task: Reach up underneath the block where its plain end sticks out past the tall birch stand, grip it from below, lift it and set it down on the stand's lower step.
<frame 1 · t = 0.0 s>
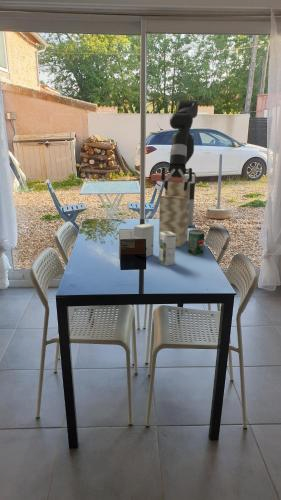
hand: (175, 190, 174), 31 cm above the table, tool tilted 20°, fingers open, 8 cm apart
syrup box: (166, 263, 172), on the table
skincare box: (143, 255, 183), on the table
canned tomato: (195, 253, 186), on the table
block: (167, 181, 198), point 32 cm above the table, touching stand
stand: (173, 242, 202), on the table
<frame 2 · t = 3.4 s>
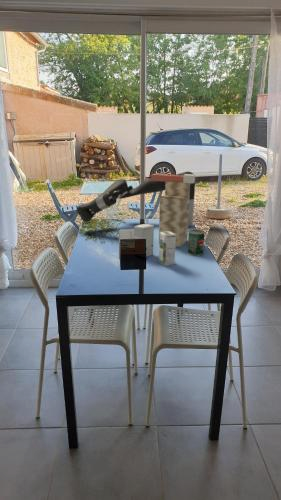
hand: (129, 188, 204), 27 cm above the table, tool pointing upward, fingers open, 8 cm apart
nothing on the table moved.
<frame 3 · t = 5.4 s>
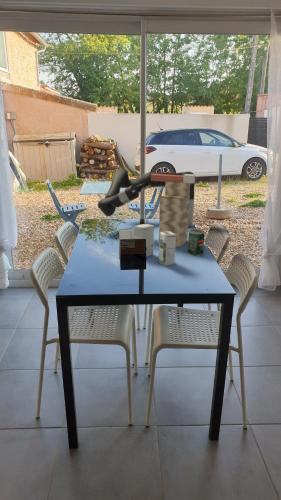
hand: (152, 181, 200), 32 cm above the table, tool pointing upward, fingers open, 8 cm apart
nothing on the table moved.
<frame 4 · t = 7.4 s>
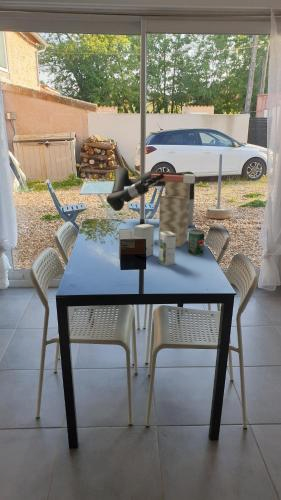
hand: (164, 175, 197), 35 cm above the table, tool pointing upward, fingers closed on block, 3 cm apart
block: (167, 181, 198), point 32 cm above the table, touching gripper, stand
everything else where it was.
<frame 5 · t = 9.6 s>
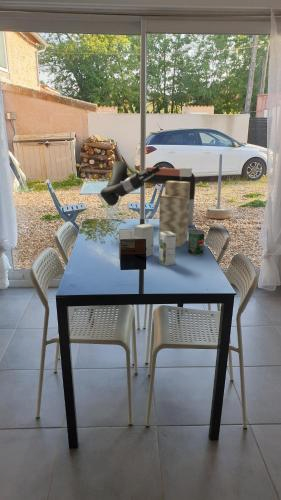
hand: (160, 168, 190), 39 cm above the table, tool pointing upward, fingers closed on block, 3 cm apart
block: (163, 174, 190), point 36 cm above the table, touching gripper
everything else where it was.
when the fingers open (29 cm above the table, at t = 12.0 s): block drops 1 cm, resting on stand.
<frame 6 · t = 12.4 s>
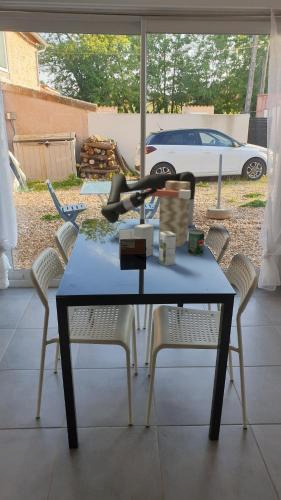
hand: (158, 188, 194), 29 cm above the table, tool pointing upward, fingers open, 7 cm apart
block: (163, 196, 194), point 25 cm above the table, touching stand
everything else where it was.
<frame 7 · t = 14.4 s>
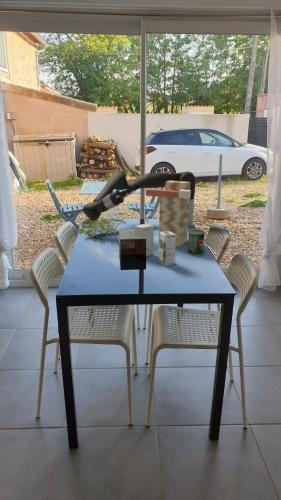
hand: (136, 186, 198), 29 cm above the table, tool pointing upward, fingers open, 8 cm apart
nothing on the table moved.
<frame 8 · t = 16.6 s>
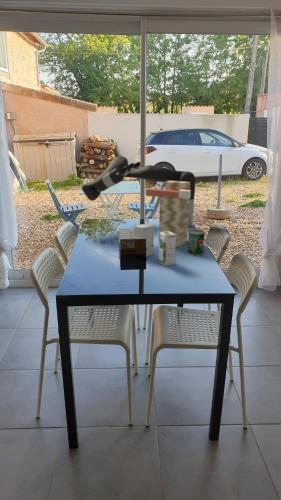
hand: (137, 163, 194), 41 cm above the table, tool pointing upward, fingers open, 8 cm apart
nothing on the table moved.
at the end: block 0.0 cm from the target spot, point 25.0 cm above the table; the gripper is holding nothing; block tilted 0° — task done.
